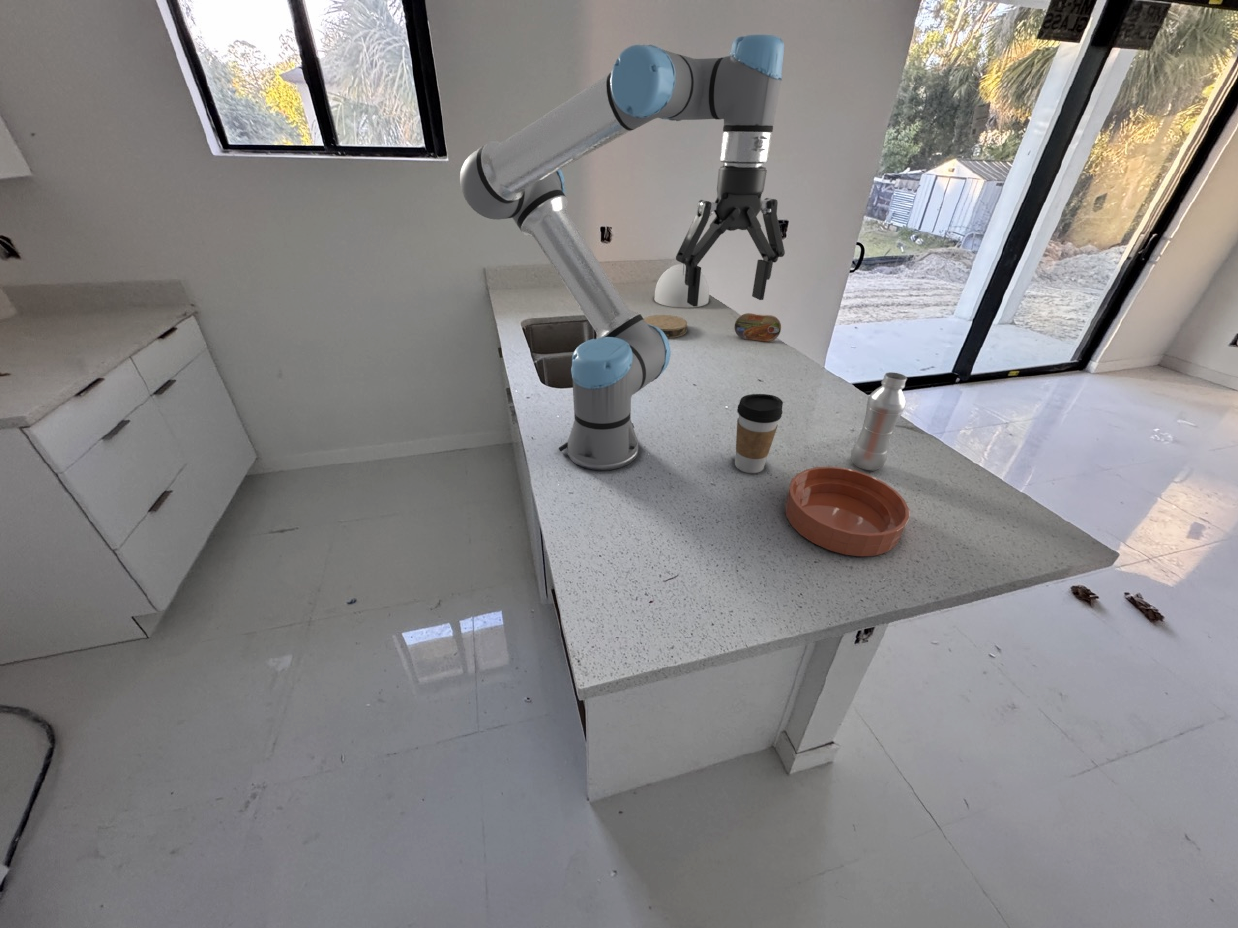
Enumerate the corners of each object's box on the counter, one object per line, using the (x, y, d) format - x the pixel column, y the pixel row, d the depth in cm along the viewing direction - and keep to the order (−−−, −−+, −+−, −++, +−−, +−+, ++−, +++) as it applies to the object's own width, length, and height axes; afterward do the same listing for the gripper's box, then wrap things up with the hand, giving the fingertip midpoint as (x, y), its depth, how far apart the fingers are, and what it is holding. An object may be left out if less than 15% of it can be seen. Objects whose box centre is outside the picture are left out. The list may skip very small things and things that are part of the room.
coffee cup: (771, 479, 97) (786, 412, 89) (728, 474, 98) (738, 408, 90) (769, 456, 104) (782, 392, 95) (729, 452, 105) (739, 388, 97)
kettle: (656, 290, 217) (659, 235, 204) (708, 292, 214) (714, 236, 202) (652, 306, 196) (654, 245, 183) (708, 308, 194) (715, 247, 181)
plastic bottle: (880, 478, 98) (914, 386, 86) (844, 467, 100) (873, 378, 89) (884, 463, 102) (918, 374, 91) (850, 453, 105) (879, 366, 94)
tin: (732, 337, 166) (736, 312, 161) (734, 334, 168) (738, 310, 164) (777, 343, 161) (782, 318, 156) (779, 340, 164) (784, 315, 159)
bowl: (832, 570, 77) (840, 547, 74) (763, 499, 92) (768, 477, 89) (925, 542, 82) (936, 520, 79) (845, 479, 97) (852, 459, 94)
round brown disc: (681, 340, 163) (681, 331, 162) (635, 334, 168) (636, 326, 166) (690, 325, 176) (691, 317, 174) (648, 321, 180) (648, 313, 178)
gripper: (682, 167, 71) (672, 313, 83) (823, 166, 78) (795, 300, 90) (661, 164, 77) (654, 301, 88) (794, 163, 84) (771, 290, 95)
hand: (725, 301), depth 89 cm, fingers open, 13 cm apart
